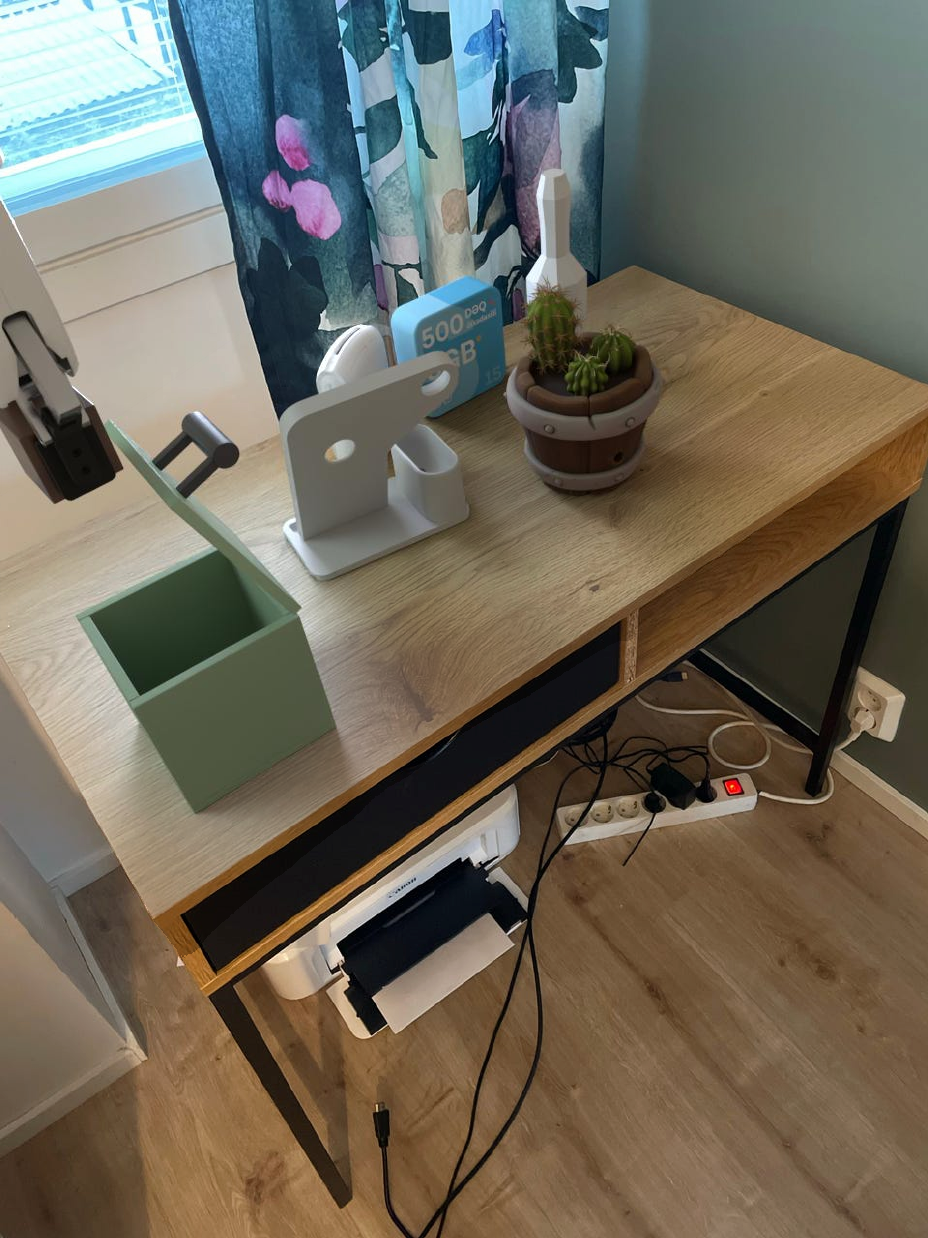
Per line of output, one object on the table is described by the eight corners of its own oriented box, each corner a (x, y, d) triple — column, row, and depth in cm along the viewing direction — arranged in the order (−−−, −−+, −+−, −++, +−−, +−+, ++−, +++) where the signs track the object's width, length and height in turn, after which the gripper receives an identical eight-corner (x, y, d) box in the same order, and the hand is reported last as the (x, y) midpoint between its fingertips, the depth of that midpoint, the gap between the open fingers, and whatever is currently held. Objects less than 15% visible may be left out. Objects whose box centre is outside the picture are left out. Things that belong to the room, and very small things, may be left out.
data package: (427, 422, 101) (412, 324, 93) (404, 408, 104) (387, 310, 95) (508, 379, 106) (500, 282, 97) (483, 366, 108) (474, 270, 100)
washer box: (195, 814, 68) (132, 709, 59) (138, 721, 75) (74, 614, 66) (337, 726, 72) (299, 616, 63) (270, 647, 79) (228, 537, 70)
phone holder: (431, 466, 95) (406, 307, 82) (478, 515, 89) (459, 351, 76) (280, 529, 91) (229, 370, 78) (318, 586, 84) (269, 422, 71)
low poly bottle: (557, 347, 110) (551, 156, 94) (597, 363, 106) (597, 168, 90) (521, 369, 107) (509, 176, 91) (560, 387, 103) (554, 189, 88)
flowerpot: (683, 447, 93) (699, 259, 79) (607, 531, 85) (610, 338, 71) (564, 411, 100) (559, 231, 86) (484, 485, 92) (464, 301, 78)
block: (54, 505, 52) (18, 440, 49) (25, 473, 54) (-11, 410, 51) (124, 469, 54) (94, 404, 50) (93, 440, 56) (63, 377, 53)
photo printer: (366, 469, 96) (343, 366, 87) (330, 464, 98) (304, 362, 89) (403, 416, 103) (385, 315, 94) (369, 412, 104) (348, 312, 95)
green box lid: (169, 507, 52) (236, 443, 52) (100, 426, 59) (159, 370, 59) (294, 615, 63) (349, 561, 63) (223, 536, 70) (273, 488, 70)
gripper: (-221, 136, 44) (-35, 444, 57) (-127, 218, 34) (71, 566, 48) (-70, 92, 47) (74, 394, 60) (55, 156, 37) (194, 499, 51)
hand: (71, 467), depth 54 cm, fingers closed on block, 4 cm apart
